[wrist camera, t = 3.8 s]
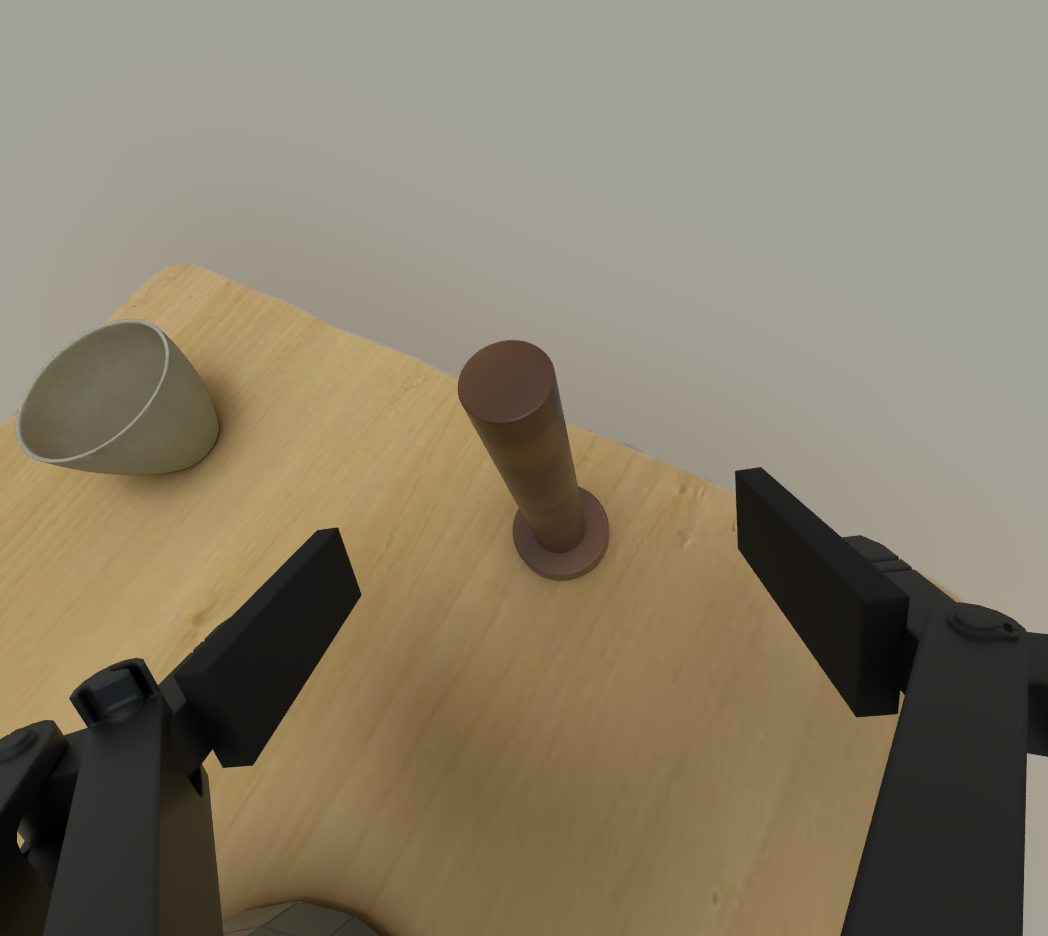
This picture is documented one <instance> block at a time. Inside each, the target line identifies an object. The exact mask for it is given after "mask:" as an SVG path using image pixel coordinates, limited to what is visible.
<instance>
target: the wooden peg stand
mask: <svg viewBox="0 0 1048 936" xmlns="http://www.w3.org/2000/svg"><path fill="white" fill-rule="evenodd" d="M458 395H459V399H460V402H461V404H462V406H463V408H464V409H465V411H466V413H467V415H468V417H469V418H470V420H471V422H472V424H473V426H474V427H475V429H476V431H477V433H478V435H479V436H480V438H481V440H482V442H483V444H484V445H485V447H486V449H487V451H488V453H489V455H490V456H491V458H492V460H493V462H494V464H495V465H496V467H497V469H498V471H499V473H500V474H501V476H502V478H503V480H504V482H505V483H506V485H507V487H508V489H509V491H510V492H511V494H512V496H513V498H514V500H515V501H516V503H517V505H518V507H519V509H518V511H517V513H516V516H515V519H514V524H513V538H514V543H515V546H516V549H517V551H518V553H519V554H520V556H521V557H522V559H523V560H524V561H525V563H526V564H527V565H528V566H529V567H530V568H531V569H532V570H533V571H535V572H536V573H538V574H539V575H541V576H543V577H546V578H549V579H554V580H570V579H574V578H577V577H580V576H582V575H584V574H586V573H588V572H589V571H591V570H592V569H593V568H594V567H595V566H596V565H597V564H598V563H599V562H600V560H601V559H602V557H603V555H604V553H605V551H606V548H607V545H608V540H609V529H608V520H607V516H606V513H605V511H604V509H603V507H602V505H601V504H600V502H599V501H598V500H597V499H596V498H595V497H594V496H593V495H592V494H591V493H589V492H588V491H586V490H585V489H583V488H580V487H578V485H577V480H576V475H575V470H574V465H573V460H572V455H571V450H570V445H569V440H568V435H567V430H566V425H565V420H564V415H563V410H562V405H561V400H560V396H559V390H558V385H557V380H556V375H555V370H554V367H553V364H552V362H551V360H550V358H549V357H548V356H547V354H546V353H545V352H544V351H542V350H541V349H540V348H538V347H537V346H535V345H533V344H530V343H528V342H524V341H518V340H517V341H516V340H507V341H501V342H497V343H494V344H491V345H489V346H487V347H485V348H483V349H481V350H480V351H479V352H477V353H476V354H474V355H473V356H472V357H471V358H470V359H469V361H468V362H467V363H466V364H465V366H464V368H463V370H462V371H461V374H460V377H459V381H458Z"/></svg>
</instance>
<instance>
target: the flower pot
mask: <svg viewBox="0 0 1048 936" xmlns="http://www.w3.org/2000/svg"><path fill="white" fill-rule="evenodd" d="M15 430H16V437H17V441H18V443H19V445H20V447H21V448H22V450H23V451H24V452H25V453H26V454H27V455H29V456H30V457H32V458H34V459H36V460H38V461H42V462H45V463H49V464H53V465H57V466H61V467H66V468H71V469H76V470H82V471H88V472H95V473H105V474H120V475H148V474H160V473H168V472H174V471H180V470H184V469H187V468H189V467H191V466H193V465H195V464H196V463H198V462H199V461H201V460H202V459H203V458H204V457H205V456H206V455H207V454H208V453H209V451H210V450H211V449H212V447H213V445H214V444H215V442H216V439H217V437H218V432H219V422H218V418H217V414H216V411H215V408H214V405H213V402H212V400H211V397H210V395H209V393H208V391H207V389H206V387H205V385H204V383H203V381H202V380H201V378H200V376H199V375H198V373H197V372H196V370H195V369H194V367H193V366H192V364H191V363H190V362H189V360H188V359H187V358H186V356H185V355H184V354H183V353H182V352H181V350H180V349H179V348H178V347H177V346H176V345H175V344H174V343H173V342H172V341H171V339H170V338H169V337H168V336H167V335H165V334H164V333H163V332H162V331H161V330H160V329H159V328H158V327H157V326H155V325H154V324H152V323H150V322H147V321H144V320H139V319H122V320H116V321H112V322H108V323H105V324H102V325H99V326H97V327H95V328H92V329H90V330H88V331H87V332H85V333H83V334H81V335H79V336H78V337H76V338H75V339H73V340H72V341H70V342H69V343H68V344H66V345H65V346H64V347H62V348H61V349H60V350H59V351H58V352H57V353H56V354H55V355H54V356H52V358H50V359H49V360H48V362H46V363H45V365H44V366H43V367H42V368H41V369H40V370H39V372H38V373H37V374H36V376H35V377H34V378H33V380H32V382H31V383H30V385H29V387H28V389H27V390H26V392H25V394H24V396H23V398H22V401H21V403H20V406H19V409H18V413H17V418H16V427H15Z"/></svg>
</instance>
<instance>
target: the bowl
mask: <svg viewBox="0 0 1048 936" xmlns="http://www.w3.org/2000/svg"><path fill="white" fill-rule="evenodd" d="M222 925H223V936H379V935H378V934H376V933H375V932H374V931H373V930H372V929H370V928H369V927H368V926H367V925H365V924H364V923H363V922H362V921H360V920H359V919H358V918H357V917H354V916H353V915H350V914H346V913H342V912H339V911H335V910H331V909H327V908H324V907H320V906H316V905H313V904H309V903H305V902H302V901H301V902H298V901H296V902H291V903H285V904H279V905H274V906H268V907H262V908H257V909H251V910H245V911H242V912H241V913H239V914H237V915H236V916H234V917H232V918H231V919H229V920H227V921H226V922H224V923H222Z"/></svg>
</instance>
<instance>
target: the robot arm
mask: <svg viewBox="0 0 1048 936" xmlns="http://www.w3.org/2000/svg"><path fill="white" fill-rule="evenodd" d="M735 480H736V508H737V535H738V549H739V551H740V552H741V554H742V555H743V556H744V558H745V559H746V561H747V562H748V564H749V565H750V566H751V568H752V569H753V571H754V572H755V574H756V575H757V576H758V578H759V579H760V581H761V582H762V584H763V585H764V586H765V588H766V589H767V591H768V592H769V594H770V595H771V596H772V598H773V599H774V601H775V602H776V603H777V605H778V606H779V608H780V609H781V611H782V612H783V613H784V615H785V616H786V618H787V619H788V621H789V622H790V623H791V625H792V626H793V628H794V629H795V631H796V632H797V633H798V635H799V636H800V638H801V639H802V641H803V642H804V643H805V645H806V646H807V648H808V649H809V651H810V652H811V653H812V655H813V656H814V658H815V659H816V661H817V662H818V663H819V665H820V666H821V668H822V669H823V671H824V672H825V673H826V675H827V676H828V678H829V679H830V681H831V682H832V683H833V685H834V686H835V688H836V689H837V691H838V692H839V693H840V695H841V696H842V698H843V699H844V701H845V702H846V703H847V705H848V706H849V708H850V709H851V710H852V712H853V713H854V715H855V716H856V717H866V716H879V715H891V714H898V707H899V697H900V690H901V691H902V692H903V694H904V695H905V697H904V701H903V705H902V709H901V712H900V716H899V720H898V723H897V727H896V731H895V735H894V738H893V742H892V746H891V749H890V753H889V757H888V761H887V764H886V768H885V772H884V775H883V779H882V783H881V787H880V790H879V794H878V798H877V801H876V805H875V809H874V813H873V816H872V820H871V824H870V827H869V831H868V835H867V839H866V842H865V846H864V850H863V853H862V857H861V861H860V865H859V868H858V872H857V876H856V879H855V883H854V887H853V891H852V894H851V898H850V902H849V905H848V909H847V913H846V917H845V920H844V924H843V928H842V932H841V935H840V936H1023V895H1024V894H1023V893H1024V852H1025V809H1026V807H1025V806H1026V804H1025V803H1026V765H1027V753H1029V754H1035V755H1041V756H1047V757H1048V634H1040V633H1032V632H1026V630H1025V628H1023V627H1022V626H1021V625H1020V624H1018V622H1016V621H1015V620H1014V619H1012V618H1010V617H1008V616H1006V615H1004V614H1002V613H1000V612H998V611H996V610H993V609H989V608H986V607H983V606H980V605H974V604H967V603H960V602H958V603H957V602H955V601H954V600H953V599H952V598H950V597H949V596H948V595H946V594H945V593H944V592H943V591H941V590H940V589H939V588H937V587H936V586H935V585H934V584H932V583H931V582H930V581H928V580H927V579H926V578H925V577H923V576H922V575H921V574H920V573H918V572H917V571H916V570H912V568H911V566H909V565H908V564H907V563H905V562H904V561H903V560H901V559H900V560H899V558H898V556H897V555H895V554H894V553H893V552H891V551H890V550H889V549H888V548H886V547H885V546H884V545H882V544H880V543H877V542H875V541H873V540H870V539H868V538H866V537H863V536H860V535H859V536H850V537H843V538H842V537H841V536H839V535H838V534H837V533H836V532H835V531H834V530H833V529H831V528H830V527H829V526H828V525H827V524H826V523H824V522H823V521H822V520H821V519H820V518H819V517H818V516H816V515H815V514H814V513H813V512H812V511H811V510H810V509H808V508H807V507H806V506H805V505H804V504H803V503H801V502H800V501H799V500H798V499H797V498H796V497H794V496H793V495H792V494H791V493H790V492H789V491H787V490H786V489H785V488H784V487H783V486H782V485H781V484H780V483H778V482H777V481H776V480H775V479H774V478H773V477H772V476H770V475H769V474H768V473H767V472H766V471H765V470H764V469H762V468H761V467H759V468H752V469H745V470H738V471H735ZM360 597H361V592H360V589H359V586H358V583H357V580H356V578H355V575H354V572H353V569H352V566H351V563H350V560H349V558H348V555H347V552H346V549H345V546H344V543H343V540H342V538H341V535H340V532H339V529H338V527H337V528H330V529H323V530H317V531H316V532H315V533H314V534H313V535H312V536H311V537H310V538H309V539H308V540H307V541H306V542H305V543H304V544H303V545H302V546H301V547H300V548H299V549H298V550H297V551H296V552H295V553H294V554H293V555H292V556H291V557H290V558H289V559H288V560H287V561H286V562H285V563H284V564H283V565H282V566H281V567H280V568H279V569H278V570H277V571H276V572H275V573H274V574H273V575H272V576H271V577H270V578H269V579H268V580H267V581H266V582H265V583H264V584H263V585H262V586H261V587H260V588H259V589H258V590H257V591H256V592H255V593H254V594H253V595H252V596H251V597H250V599H249V600H248V601H247V602H246V603H245V604H244V605H243V606H242V607H241V608H240V609H239V610H238V611H237V612H236V613H235V614H234V615H233V616H231V617H230V618H229V619H227V620H226V621H224V622H223V623H221V624H220V625H218V626H217V627H216V628H215V629H214V630H213V631H212V632H211V633H210V634H209V635H208V636H207V637H206V638H205V641H204V642H201V643H200V644H199V645H198V646H197V647H196V648H195V649H194V650H193V651H194V652H193V653H190V654H189V655H188V656H187V657H186V658H185V659H184V660H183V661H182V662H181V663H180V664H179V665H178V666H177V667H176V668H175V669H174V670H173V671H172V672H171V673H170V674H169V675H168V676H167V677H166V678H165V679H164V680H163V681H162V682H161V683H160V684H159V685H157V683H156V681H155V680H154V678H153V676H152V674H151V672H150V671H149V669H148V667H147V665H146V663H145V662H144V660H143V659H138V658H134V659H128V660H124V661H121V662H119V663H116V664H113V665H111V666H109V667H107V668H105V669H103V670H101V671H99V672H97V673H96V674H94V675H93V676H91V677H90V678H88V679H87V680H85V681H84V682H83V683H82V684H81V685H80V686H79V687H77V688H76V689H75V690H74V692H73V693H72V695H71V696H70V698H69V699H70V701H71V702H72V704H73V705H74V707H75V708H76V710H77V711H78V713H79V714H80V716H81V718H82V719H83V721H84V722H85V724H86V725H87V727H88V728H86V729H83V730H79V731H76V732H73V733H70V734H67V735H63V734H62V732H61V731H60V729H59V728H58V726H57V725H56V723H55V722H54V721H53V720H44V721H40V722H37V723H33V724H31V725H28V726H26V727H24V728H20V729H17V730H15V731H14V732H12V733H10V735H6V736H5V737H3V738H2V739H0V936H223V925H222V915H221V905H220V894H219V884H218V874H217V863H216V853H215V842H214V832H213V822H212V811H211V801H210V791H209V780H208V774H207V773H206V771H205V769H204V767H203V765H202V763H203V761H204V760H205V759H206V757H207V756H208V755H209V753H210V752H211V751H212V749H213V750H214V752H215V754H216V756H217V758H218V760H219V761H220V763H221V765H222V767H223V768H227V767H240V766H252V765H254V763H255V761H256V760H257V758H258V757H259V755H260V754H261V752H262V750H263V749H264V747H265V746H266V744H267V743H268V741H269V739H270V738H271V736H272V735H273V733H274V732H275V730H276V728H277V727H278V725H279V724H280V722H281V721H282V719H283V717H284V716H285V714H286V713H287V711H288V710H289V708H290V706H291V705H292V703H293V702H294V700H295V699H296V697H297V695H298V694H299V692H300V691H301V689H302V688H303V686H304V684H305V683H306V681H307V680H308V678H309V677H310V675H311V674H312V672H313V670H314V669H315V667H316V666H317V664H318V663H319V661H320V659H321V658H322V656H323V655H324V653H325V652H326V650H327V648H328V647H329V645H330V644H331V642H332V641H333V639H334V637H335V636H336V634H337V633H338V631H339V630H340V628H341V626H342V625H343V623H344V622H345V620H346V619H347V617H348V615H349V614H350V612H351V611H352V609H353V608H354V606H355V604H356V603H357V601H358V600H359V598H360ZM17 832H18V833H19V834H20V835H21V837H22V838H23V839H24V840H25V841H24V843H23V845H22V847H21V848H19V846H18V844H17Z"/></svg>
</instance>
